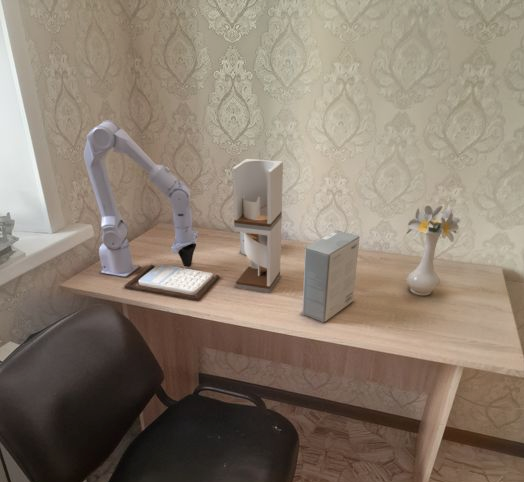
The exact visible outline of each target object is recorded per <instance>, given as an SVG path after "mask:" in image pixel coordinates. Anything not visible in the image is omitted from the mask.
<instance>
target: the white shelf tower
mask: <svg viewBox="0 0 524 482" xmlns="http://www.w3.org/2000/svg"><path fill="white" fill-rule="evenodd" d="M231 170H232V171H231V172H232V194H233V195H232V200H233V201H232V202H233V224H234V225H233V228H234V229H233V230H234V232H235V233H240V232H242V233H244V250H245V254H246V255H245V256H246V257H247V258H248V259H249V260H250V266H249V265H248V266H247V268H246V269H245V270H244V271H243V272H242V274H240V276H239V278H237V280H236V281H235V283H236V288H237V289H244V290H251V291H256V292H262V293H263V292H264V293H271V291H272V290H273V288H274V287H275V286H276V283H278V281H279V279H280V278H281V262H282V261H281V260H282V259H281V258H282V255H281V254H282V222H283V221H282V216H283V181H284V180H283V178H284V177H283V175H284V174H283V173H284V171H283V170H284V161H281V160H267V159H258V158H257V159H256V158H255V159H254V158H253V159H252V158H246V159H244V160H242V161H241V162H239V163H238V164H236V165H235V166H234V167H232V168H231Z"/></svg>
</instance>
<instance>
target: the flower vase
mask: <svg viewBox="0 0 524 482" xmlns="http://www.w3.org/2000/svg"><path fill="white" fill-rule="evenodd" d="M442 209H443V206H442V205H440V206H437V207H436V208H435V209H434V210H433V208H432V206H431V205H426V206H425V207H424V210H423V211H424V212H423V211H422V210H420V207H419V208H418V207H417V209H416V212H415V218H412V219H410V220H409V222H408V228H409V229H408V230H407V232H406V234H409V233H410V232H412V231H415V232H414V233H413V235H412V239H413V240H415V239H417V237H419V236H420V235H421V234H425V244H424V248H423V252H422V256H421V259H420V262H419V263H418V265H417V267H416V268H415V269H413V270H411V272H409V274H407V277H406V284H407V286H408V287H409V290H410V292H411V293H412V294H414V295H416V296H421V297H423V296H429V295H431V294H432V292H433V291H435V290H436V289H438V287H439V286H440V278H439V276H438V273H436V271H435V269H434V260H435V259H434V258H435V253H436V248H437V245H438V241H439V239H440V237H441V238H442V239H446V237H447V238H448V240H449V241H450V242H451V243H453V242H454V235H453V233H454V234H457V233H458V232H457V231H458V229H459V225H458V223H460V221H461V219H460V218H459V217H457V216H454V214H453V207H452V206H448V207H447V208H446V209H444V210H443V213H442V212H441V211H442ZM429 224H430V225H431V226H432V227H431V226H429Z"/></svg>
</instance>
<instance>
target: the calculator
mask: <svg viewBox="0 0 524 482" xmlns="http://www.w3.org/2000/svg"><path fill="white" fill-rule="evenodd" d="M213 278H214V273H212V272H209V271H202V270H196V269H190V268H186V267H178V266H172V265H167V264H158V265H156V266H154V268H153V269H152V270H151V271H149V272H148V273H147V274H146V275H144V276H143V277H142V278H140V279H139V280H138V284H139V286H140V287H145V288H151V289H157V290H163V291H168V292H174V293H180V294H186V295H192V296H196V295H198V294H199V293H200V292H201V291H202V289H203V288H204V287H205V286H206V285H207V284H208V283H209V282H210V281H211V280H212V279H213Z"/></svg>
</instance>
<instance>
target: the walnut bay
mask: <svg viewBox="0 0 524 482" xmlns="http://www.w3.org/2000/svg"><path fill="white" fill-rule="evenodd" d="M153 268H155V265H154V264H150V265H149V266H148V267H146V268H145V269H144V270H142V271H141V272H140V273H139V274H137V275H136V276H135V277H133V278H132V279H131V280H129V281H128V282H127V283H126V284H124V285H123V286H124V289H127V290H131V291H138V292H144V293H149V294H155V295H160V296H167V297H172V298H178V299H183V300H190V301H195V302H198V301H200V299H202V298H203V296H204V295H206V293H207V292H208V291H209V290H210V289H211V288H212V287H213V286H214V284H216V282H218V281H219V279H220V277H221V276H220V275H219V274H216V275H215V276H213V278H212V279H211V280H210V281H209V282H208V283H207V284H206V285H205V286H204V287H203V288H202V289H201V290H200V291H199V292H198V293H197V294H196V295H189V294H184V293H178V292H173V291H167V290H162V289H157V288H151V287H146V286H140V285H135V284H136V283H137V282H139V279H140V278H142V277H143V276H144V275H146V274H147V273H148V272H150V271H151V270H152V269H153Z"/></svg>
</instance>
